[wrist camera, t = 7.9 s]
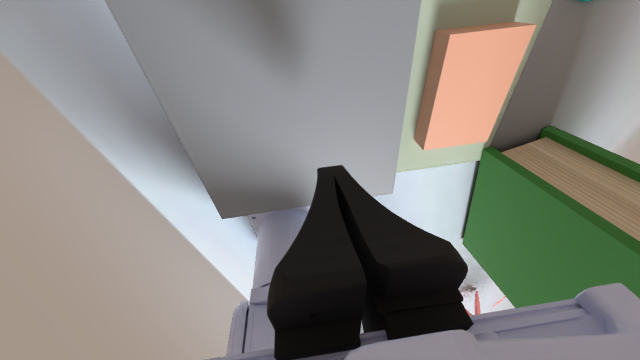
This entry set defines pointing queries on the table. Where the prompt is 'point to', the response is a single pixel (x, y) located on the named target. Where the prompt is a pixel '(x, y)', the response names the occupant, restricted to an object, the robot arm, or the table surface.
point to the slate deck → (278, 90)
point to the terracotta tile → (469, 82)
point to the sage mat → (435, 14)
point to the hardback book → (555, 219)
